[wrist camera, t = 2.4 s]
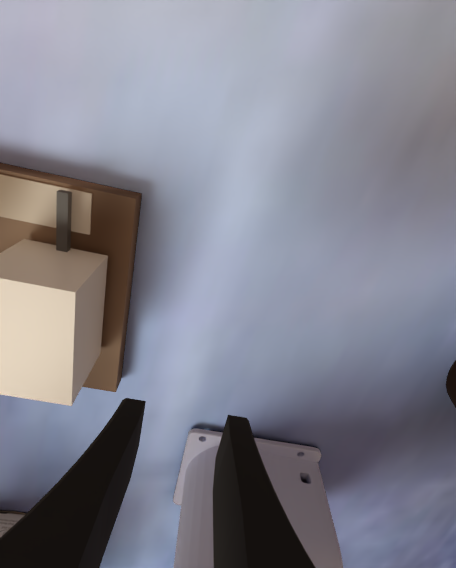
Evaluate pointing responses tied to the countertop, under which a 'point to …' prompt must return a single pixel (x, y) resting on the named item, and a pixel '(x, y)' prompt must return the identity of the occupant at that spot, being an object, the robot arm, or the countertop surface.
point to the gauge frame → (80, 244)
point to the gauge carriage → (50, 314)
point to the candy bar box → (9, 520)
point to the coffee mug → (452, 383)
